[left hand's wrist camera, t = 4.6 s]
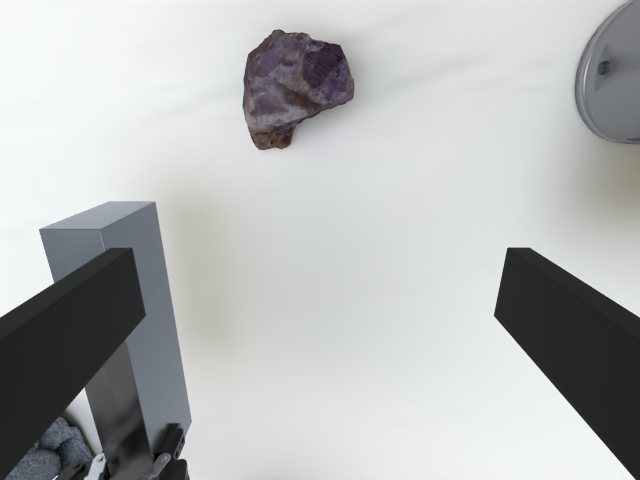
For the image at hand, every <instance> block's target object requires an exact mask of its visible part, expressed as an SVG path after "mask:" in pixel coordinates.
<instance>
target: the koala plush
mask: <svg viewBox="0 0 640 480" xmlns="http://www.w3.org/2000/svg"><path fill="white" fill-rule="evenodd" d="M81 434H82V433H81V431H80V430H79V429H78V428H77V427H73V426H72V427H69V426H68V423H67V422H66V420H65V419H64V418H63V417H60V416H59V417H58V418H57V419H56V420H55V422H54V423H53V424H52V425H51V426H50V427H49V429H48V430H47V431H46V432H45V433H44V434H43V435H42V437H41V438H40V439H39V440H38V441H37V442H36V444H35V445H34V446H33V447H32V448H31V449H30V451H29V452H28V453H27V454H26V455H25V456H24V457H23V459H22V460H21V461H20V462H19V463H18V464H17V466H16V467H15V468H14V469H13V470H12V471H11V472H10V474H9V475H8V476H7V477H6V478H5V479H4V480H52V479H53V478H55V477H56V476H57V475H58V476H59V475H60V474H61V473H62V472H63V471H64V470H65V469H66V468H67V467H68V466H69V465H71V464H72V463H73V462H74V461H76V460H78V459H83V460H84V462H86V461H90V460H93V459H94V458H93V456H92V453H91V452H90V450H89V448H88V446H87V445H85V443H84V441H83V436H81Z"/></svg>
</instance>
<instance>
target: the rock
mask: <svg viewBox="0 0 640 480" xmlns="http://www.w3.org/2000/svg"><path fill="white" fill-rule="evenodd" d="M353 95H354V81H353V78H352V77H351V74H350V70H349V66H348V63H347V60H346V57H345V55H344V53H343V51H342V49H341V46H340V45H337V44H329V43H327V42H323V41H318V40H313V39H311V38H310V36H309V35H308V34H304V33H285V32H284V31H282V30H273V32H272V34H271V35H269V36H268V38H265V39H264V41H263V42H262V43H261V44H260V45H259V47H257V48H256V49H254V50H253V51H252V52H251V53H249V54H248V58H247V63H246V69H245V75H244V97H243V110H244V114H245V120H246V122H247V124H248V129H249V132H250V135H251V138H252V140H253V142H254V144H255V146H256V147H257V148H258V149H259V150H266V149H270V148H279V149H283V148H287V147H288V146H289V145H290V144H291V137H292V133H293V130H294V129H295V125H296V124H298V123H301V122H302V121H303V120H304V119H306V118H311V117H314V116H316V115H317V114H319V113H320V112H321V111H324V110H326V109H331V108H333V107H336V106H337V105H342V104H346V103H347V102H348V101H350V100H352V98H353Z"/></svg>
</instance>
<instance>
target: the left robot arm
mask: <svg viewBox="0 0 640 480" xmlns="http://www.w3.org/2000/svg"><path fill="white" fill-rule="evenodd" d="M575 93H576V101H577V106H578V109H579V112H580V115H581V117H582V119H583V120H584V122H585V123H586V125H587V126H588V127H589V128H590V129H591V130H592V131H593V132H594V133H596V134H597V135H598V136H600V137H602V138H604V139H607V140H609V141H613V142H619V143H628V144H640V0H630V1H629V2H627V3H625V4H624V5H623V6H621V7H620V8H618V9H617V10H616V11H615V12H614V13H612V14H611V15H610V16H609V17H608V18H607V19H606V20H605V21H604V23H603V24H602V25H601V26H600V27H599V29H598V30H597V31H596V32H595V34H594V35H593V37H592V38H591V40H590V42H589V43H588V45H587V47H586V49H585V51H584V53H583V56H582V58H581V61H580V64H579V68H578V72H577V77H576V89H575ZM145 316H146V313H145V308H144V303H143V298H142V293H141V288H140V283H139V278H138V273H137V268H136V263H135V258H134V253H133V248H109V249H108V250H106V251H105V252H103V253H101V254H100V255H98V256H97V257H95V258H94V259H92V260H90V261H89V262H87V263H86V264H84V265H82V266H81V267H79V268H78V269H76V270H75V271H73V272H71V273H70V274H68V275H67V276H65V277H64V278H62V279H60V280H59V281H57V282H56V283H54V284H53V285H51V286H49V287H48V288H46V289H45V290H43V291H42V292H40V293H38V294H37V295H35V296H34V297H32V298H30V299H29V300H27V301H26V302H24V303H23V304H21V305H19V306H18V307H16V308H15V309H13V310H12V311H10V312H8V313H7V314H5V315H4V316H2V317H1V318H0V480H4V479H5V478H6V477H7V476H8V475H9V474H10V472H11V471H12V470H13V469H14V468H15V467H16V466H17V464H18V463H19V462H20V461H21V460H22V459H23V457H24V456H25V455H26V454H27V453H28V452H29V451H30V449H31V448H32V447H33V446H34V445H35V444H36V442H37V441H38V440H39V439H40V438H41V437H42V435H43V434H44V433H45V432H46V431H47V430H48V429H49V427H50V426H51V425H52V424H53V423H54V422H55V420H56V419H57V418H58V417H59V416H60V415H61V414H62V412H63V411H64V410H65V409H66V408H67V407H68V405H69V404H70V403H71V402H72V401H73V400H74V399H75V397H76V396H77V395H78V394H79V393H80V392H81V390H82V389H83V388H84V387H85V386H86V385H87V383H88V382H89V381H90V380H91V379H92V378H93V377H94V375H95V374H96V373H97V372H98V371H99V370H100V368H101V367H102V366H103V365H104V364H105V363H106V362H107V360H108V359H109V358H110V357H111V356H112V355H113V353H114V352H115V351H116V350H117V349H118V348H119V346H120V345H121V344H122V343H123V342H124V341H125V340H126V338H127V337H128V336H129V335H130V334H131V333H132V331H133V330H134V329H135V328H136V327H137V326H138V325H139V323H140V322H141V321H142V320H143V319H144V318H145ZM494 316H495V318H496V319H497V320H498V321H499V322H500V323H501V325H502V326H503V327H504V328H505V329H506V330H507V331H508V333H509V334H510V335H511V336H512V337H513V338H514V340H515V341H516V342H517V343H518V344H519V345H520V346H521V348H522V349H523V350H524V351H525V352H526V353H527V355H528V356H529V357H530V358H531V359H532V360H533V362H534V363H535V364H536V365H537V366H538V367H539V368H540V370H541V371H542V372H543V373H544V374H545V375H546V377H547V378H548V379H549V380H550V381H551V382H552V383H553V385H554V386H555V387H556V388H557V389H558V390H559V392H560V393H561V394H562V395H563V396H564V397H565V399H566V400H567V401H568V402H569V403H570V404H571V405H572V407H573V408H574V409H575V410H576V411H577V412H578V414H579V415H580V416H581V417H582V418H583V419H584V420H585V422H586V423H587V424H588V425H589V426H590V427H591V429H592V430H593V431H594V432H595V433H596V434H597V436H598V437H599V438H600V439H601V440H602V441H603V442H604V444H605V445H606V446H607V447H608V448H609V449H610V451H611V452H612V453H613V454H614V455H615V456H616V457H617V459H618V460H619V461H620V462H621V463H622V464H623V466H624V467H625V468H626V469H627V470H628V471H629V472H630V474H631V475H632V476H633V477H634V478H635V479H636V480H640V318H639V317H638V316H636V315H635V314H633V313H632V312H630V311H628V310H627V309H625V308H624V307H622V306H621V305H619V304H617V303H616V302H614V301H613V300H611V299H610V298H608V297H606V296H605V295H603V294H602V293H600V292H598V291H597V290H595V289H594V288H592V287H591V286H589V285H587V284H586V283H584V282H583V281H581V280H580V279H578V278H576V277H575V276H573V275H572V274H570V273H569V272H567V271H565V270H564V269H562V268H561V267H559V266H558V265H556V264H554V263H553V262H551V261H550V260H548V259H546V258H545V257H543V256H542V255H540V254H539V253H537V252H535V251H534V250H532V249H531V248H507V253H506V258H505V263H504V268H503V273H502V278H501V283H500V288H499V293H498V298H497V303H496V308H495V313H494Z"/></svg>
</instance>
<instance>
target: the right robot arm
mask: <svg viewBox="0 0 640 480" xmlns="http://www.w3.org/2000/svg"><path fill="white" fill-rule="evenodd" d="M184 444H185V436H184V430H183V428H181V423H173V424H172V426H171V428H170V430H169V432H168V434H167V436H166V438H165V440H164V442H163V444H162V447H161V449H160V451H159V457H158V458H157V459H156V460H155V462H154V463H153V464H152V465H151V466H150V468H149V469H148V470H147V471H146V472H145V473H141V474H140V475H139V476H138V477H137V478H136V479H135V480H190V478H189V475H188V470H187V462H186V460H185V459H180V460H178V458H179V456H180V453H181V451H182V449H183V446H184ZM55 480H111V477H110V474H109V470H108V467H107V463H106V460H105V456H104V453H103V451H102V452H101V453H100V454H98V455H97V456H96V457H95V458H94V459H93V460H90V461H86V462H84V460H83V459H78V460H76V461H74V462H73V463H72V464H71V465H69V466H68V467H67V468H66V469H65V470H64V471H63V472H62V473H61V474H60V475H59V476H58V477H57V478H56V479H55Z"/></svg>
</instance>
